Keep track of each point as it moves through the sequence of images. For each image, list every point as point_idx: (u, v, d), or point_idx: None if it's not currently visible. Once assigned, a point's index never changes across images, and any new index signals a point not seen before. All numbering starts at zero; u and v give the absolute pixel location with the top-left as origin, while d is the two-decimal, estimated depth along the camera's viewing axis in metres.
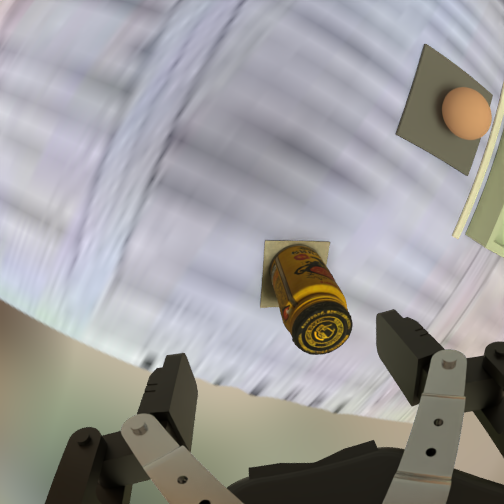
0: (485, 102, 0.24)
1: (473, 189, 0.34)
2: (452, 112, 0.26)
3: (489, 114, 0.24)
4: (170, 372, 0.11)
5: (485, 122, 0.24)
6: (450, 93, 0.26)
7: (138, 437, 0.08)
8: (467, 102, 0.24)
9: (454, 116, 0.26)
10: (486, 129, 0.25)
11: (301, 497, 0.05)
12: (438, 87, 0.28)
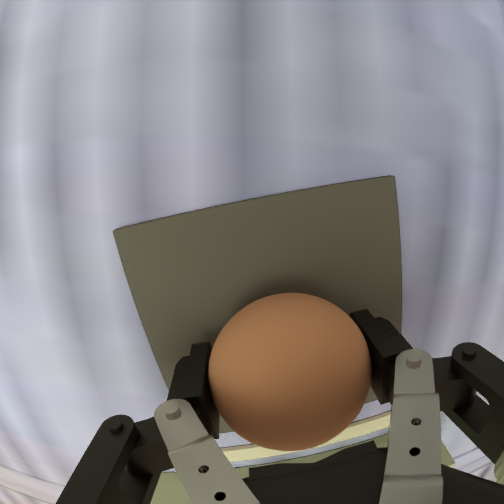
0: (353, 408, 0.09)
1: None
2: (242, 331, 0.10)
3: (325, 437, 0.09)
4: (198, 359, 0.11)
5: (286, 441, 0.09)
6: (305, 297, 0.11)
7: (173, 421, 0.08)
8: (303, 358, 0.09)
9: (234, 344, 0.10)
10: (277, 449, 0.09)
11: (301, 497, 0.05)
12: (311, 267, 0.13)
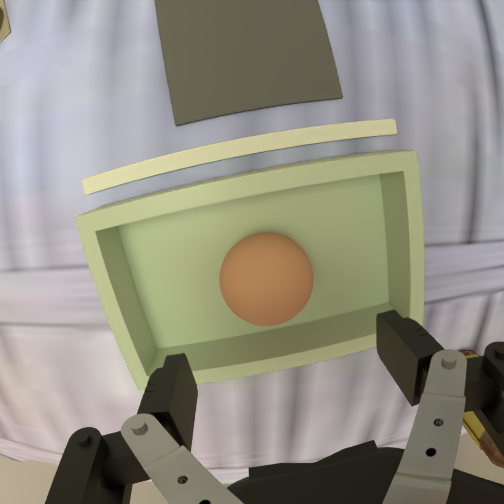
0: (299, 291, 0.18)
1: (166, 156, 0.21)
2: (238, 247, 0.19)
3: (284, 308, 0.18)
4: (170, 372, 0.11)
5: (262, 307, 0.18)
6: (273, 233, 0.20)
7: (138, 437, 0.08)
8: (269, 256, 0.18)
9: (234, 254, 0.19)
10: (258, 319, 0.19)
11: (301, 497, 0.05)
12: None
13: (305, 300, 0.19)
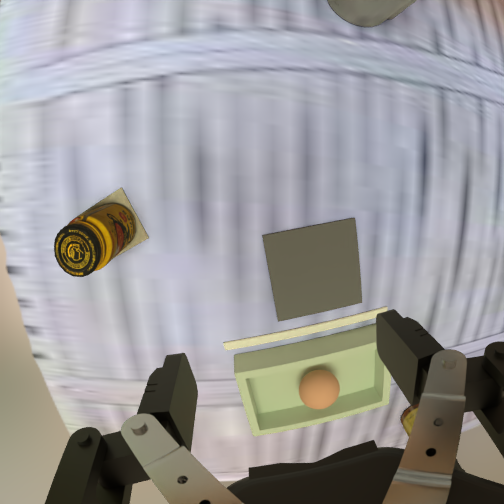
0: (334, 398, 0.41)
1: (272, 335, 0.44)
2: (310, 382, 0.42)
3: (328, 405, 0.41)
4: (170, 372, 0.11)
5: (319, 405, 0.41)
6: (324, 372, 0.43)
7: (138, 437, 0.08)
8: (323, 387, 0.41)
9: (308, 384, 0.42)
10: (316, 408, 0.41)
11: (301, 497, 0.05)
12: (326, 248, 0.41)
13: (336, 399, 0.42)
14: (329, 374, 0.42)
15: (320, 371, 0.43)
